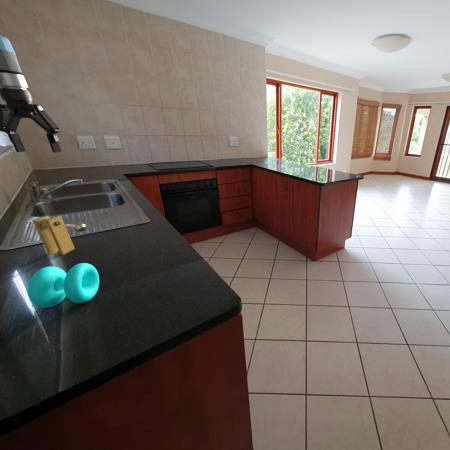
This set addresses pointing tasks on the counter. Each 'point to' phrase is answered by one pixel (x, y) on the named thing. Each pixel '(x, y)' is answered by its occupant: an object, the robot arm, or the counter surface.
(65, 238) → the bracket
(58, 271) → the donuts
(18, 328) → the counter surface
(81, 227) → the lever
